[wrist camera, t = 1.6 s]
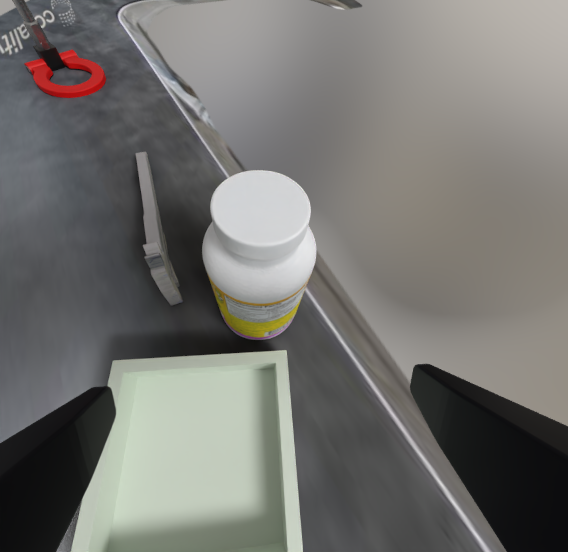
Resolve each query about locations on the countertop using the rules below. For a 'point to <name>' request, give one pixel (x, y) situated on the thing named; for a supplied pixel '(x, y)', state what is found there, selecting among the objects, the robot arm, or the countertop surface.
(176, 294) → the caliper
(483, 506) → the robot arm
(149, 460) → the sage tray
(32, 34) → the tow hook
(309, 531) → the countertop surface
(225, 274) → the supplement bottle
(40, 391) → the countertop surface
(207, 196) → the countertop surface
